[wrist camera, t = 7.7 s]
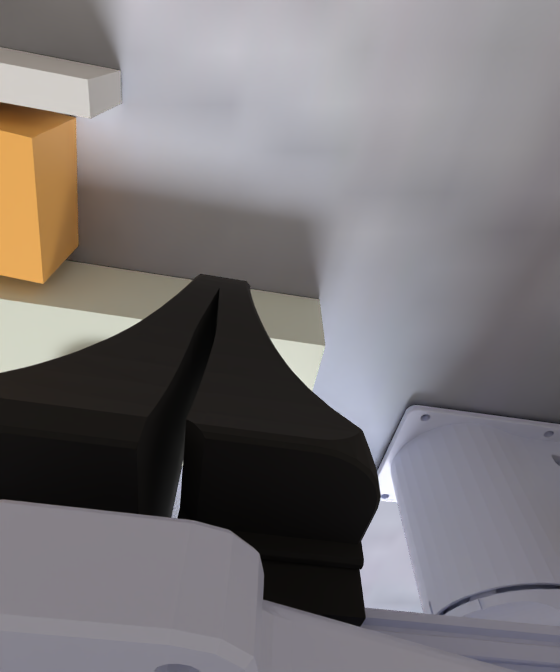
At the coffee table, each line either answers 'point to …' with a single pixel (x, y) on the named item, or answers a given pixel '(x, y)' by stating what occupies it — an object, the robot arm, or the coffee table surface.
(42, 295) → the white notched block
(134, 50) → the coffee table surface
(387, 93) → the coffee table surface
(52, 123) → the chute block
